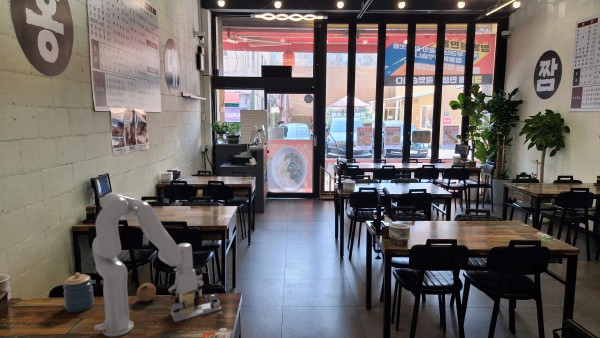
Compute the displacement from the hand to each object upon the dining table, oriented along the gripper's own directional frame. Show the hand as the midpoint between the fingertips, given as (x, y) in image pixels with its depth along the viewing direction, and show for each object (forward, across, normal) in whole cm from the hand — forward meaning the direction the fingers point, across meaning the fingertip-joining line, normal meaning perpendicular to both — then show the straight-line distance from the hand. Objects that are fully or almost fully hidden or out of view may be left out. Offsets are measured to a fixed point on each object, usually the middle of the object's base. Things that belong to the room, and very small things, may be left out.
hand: (187, 301), depth 196 cm
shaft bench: (+2, +2, -9) cm, 10 cm away
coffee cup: (+2, +7, +9) cm, 11 cm away
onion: (+2, -16, +18) cm, 24 cm away
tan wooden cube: (+2, 0, 0) cm, 2 cm away
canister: (+2, -46, +29) cm, 55 cm away
